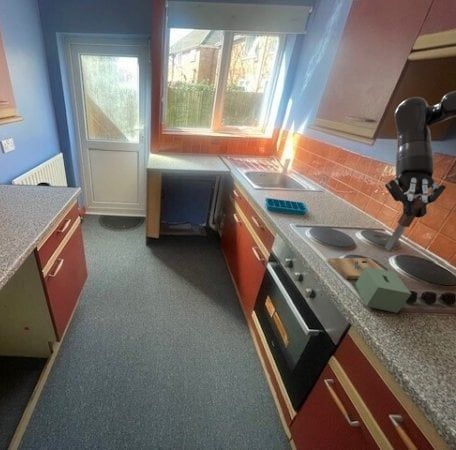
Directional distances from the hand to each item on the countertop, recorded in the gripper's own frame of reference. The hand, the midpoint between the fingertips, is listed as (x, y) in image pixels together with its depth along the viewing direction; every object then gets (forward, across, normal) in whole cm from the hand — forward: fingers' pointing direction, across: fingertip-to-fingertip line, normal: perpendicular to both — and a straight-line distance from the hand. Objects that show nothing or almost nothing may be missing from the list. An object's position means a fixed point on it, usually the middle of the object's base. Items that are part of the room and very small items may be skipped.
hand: (414, 215), depth 69 cm
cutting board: (+12, 0, -28) cm, 30 cm away
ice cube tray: (-21, +20, -61) cm, 68 cm away
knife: (+8, 0, -11) cm, 13 cm away
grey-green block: (+23, 0, -17) cm, 28 cm away
